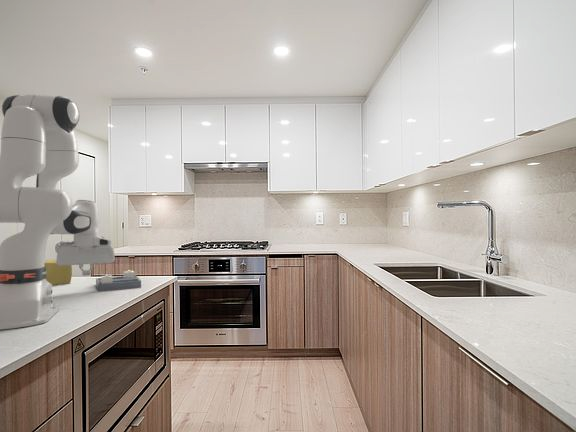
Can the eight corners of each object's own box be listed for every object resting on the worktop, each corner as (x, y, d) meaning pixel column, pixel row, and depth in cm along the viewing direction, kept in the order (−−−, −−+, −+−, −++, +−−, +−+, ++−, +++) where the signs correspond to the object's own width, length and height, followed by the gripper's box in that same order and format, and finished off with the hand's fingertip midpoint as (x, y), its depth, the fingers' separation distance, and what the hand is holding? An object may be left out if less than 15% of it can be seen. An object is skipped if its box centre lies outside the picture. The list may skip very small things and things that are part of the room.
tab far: (134, 279, 155) (134, 270, 155) (124, 280, 153) (124, 271, 153) (133, 278, 158) (133, 269, 158) (123, 279, 155) (123, 270, 155)
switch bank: (141, 287, 147) (141, 280, 147) (97, 291, 139) (97, 284, 139) (136, 281, 159) (136, 275, 159) (96, 284, 151) (96, 278, 151)
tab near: (112, 285, 143) (112, 275, 143) (101, 286, 141) (101, 276, 141) (111, 283, 146) (111, 273, 146) (100, 284, 144) (100, 274, 144)
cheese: (36, 283, 153) (36, 260, 153) (64, 280, 161) (64, 258, 161) (43, 287, 146) (43, 263, 146) (72, 283, 154) (72, 260, 154)
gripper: (55, 242, 132) (55, 279, 132) (115, 240, 143) (115, 274, 143) (55, 240, 137) (55, 275, 137) (113, 239, 148) (113, 271, 148)
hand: (86, 275), depth 140 cm, fingers closed
